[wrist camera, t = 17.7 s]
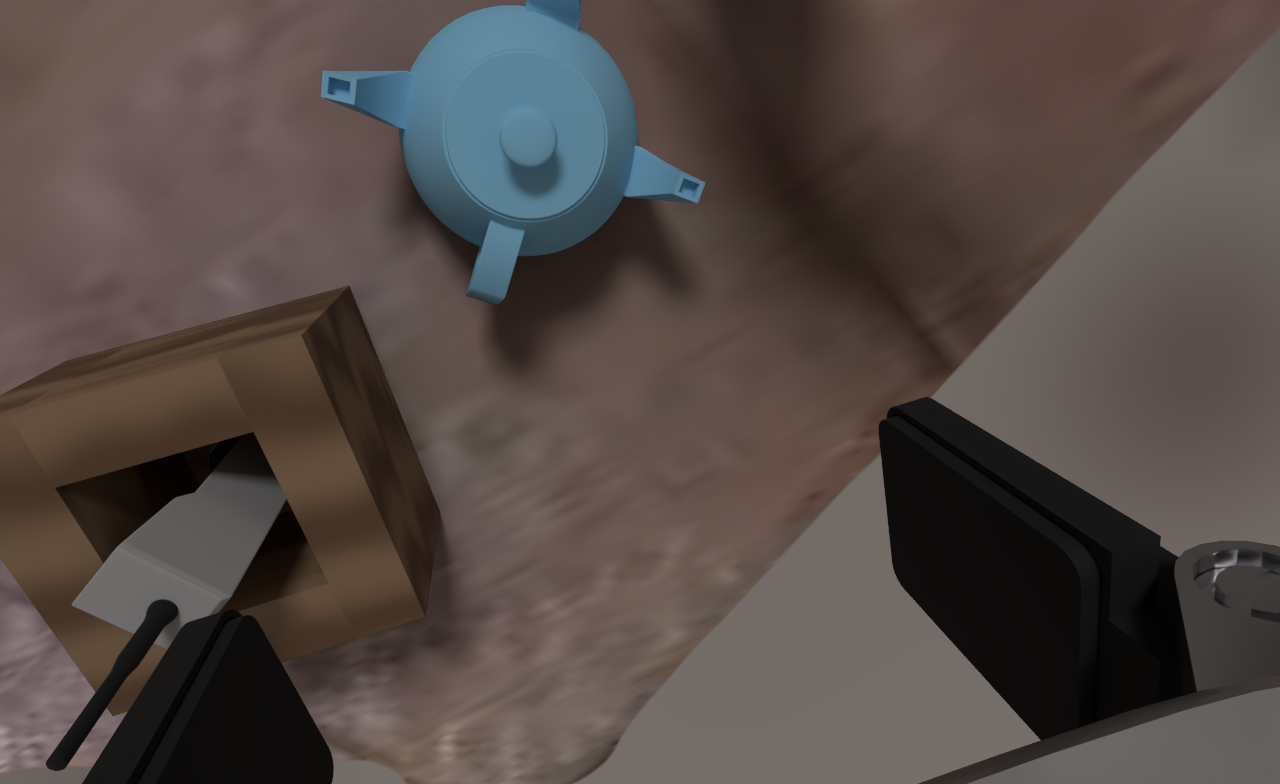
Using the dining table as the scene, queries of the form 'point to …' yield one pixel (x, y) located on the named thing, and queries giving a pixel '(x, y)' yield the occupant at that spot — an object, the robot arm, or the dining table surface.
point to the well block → (178, 465)
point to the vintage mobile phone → (179, 566)
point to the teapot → (515, 134)
